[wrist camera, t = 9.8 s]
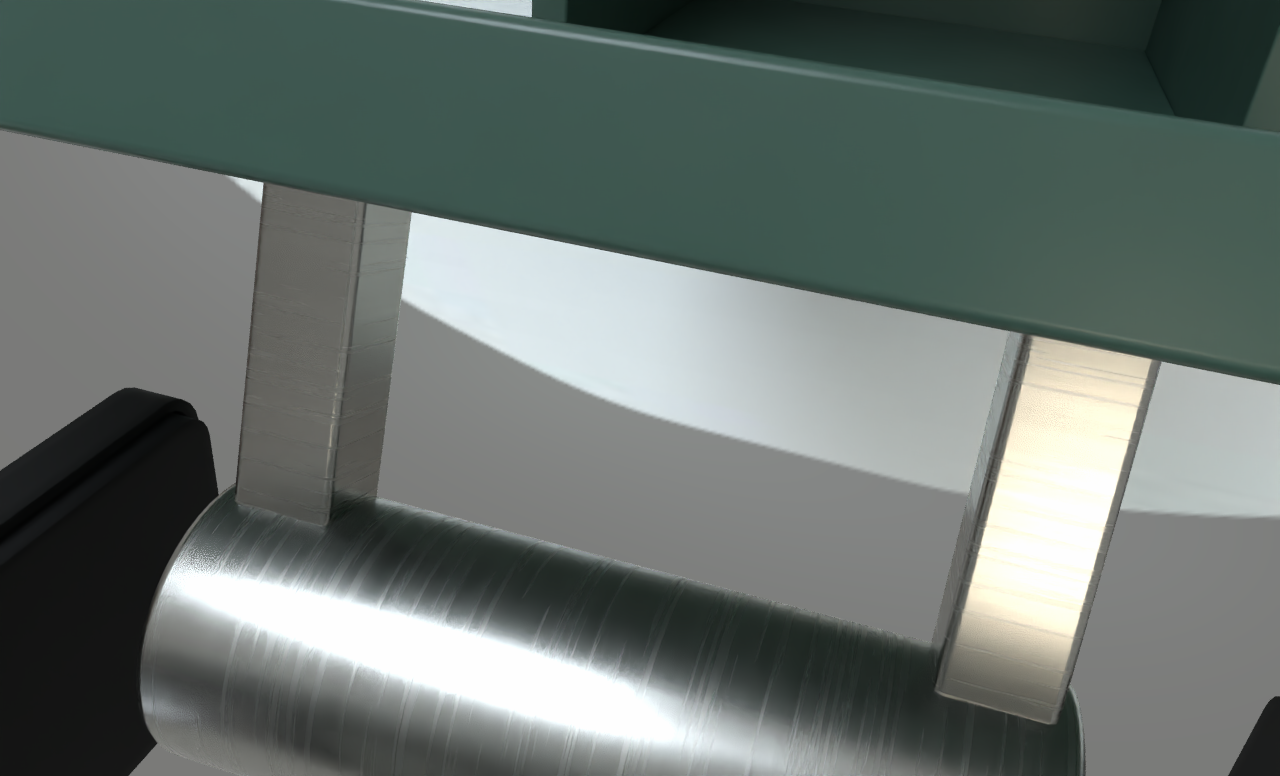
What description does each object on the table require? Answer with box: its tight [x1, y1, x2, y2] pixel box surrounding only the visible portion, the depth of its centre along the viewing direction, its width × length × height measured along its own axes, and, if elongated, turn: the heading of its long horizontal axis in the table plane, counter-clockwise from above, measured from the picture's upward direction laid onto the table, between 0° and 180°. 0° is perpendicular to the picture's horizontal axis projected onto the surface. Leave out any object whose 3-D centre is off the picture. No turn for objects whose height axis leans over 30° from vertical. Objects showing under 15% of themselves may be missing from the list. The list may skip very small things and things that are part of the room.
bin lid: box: [0, 0, 1280, 776], centre depth 13 cm, size 18×15×5 cm
